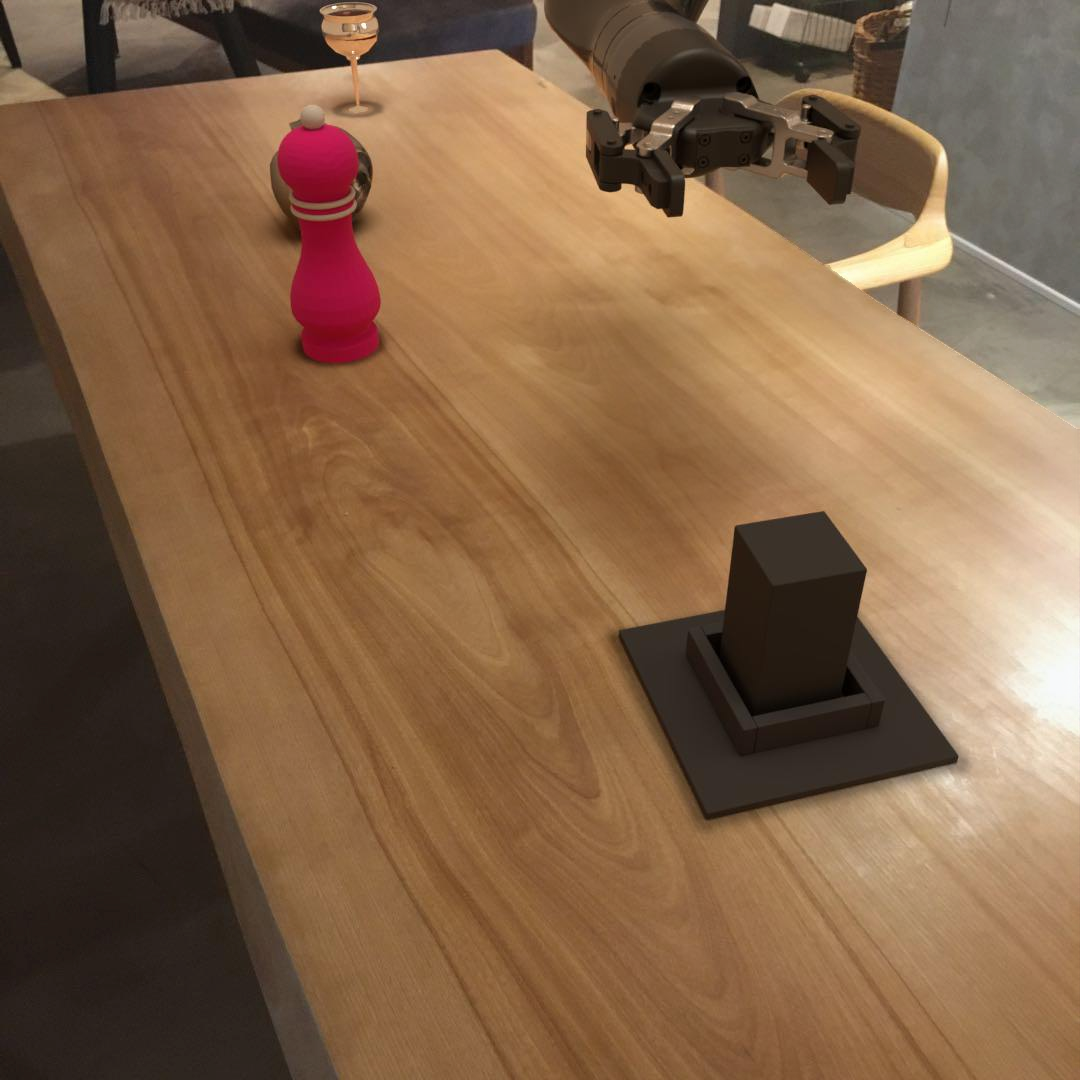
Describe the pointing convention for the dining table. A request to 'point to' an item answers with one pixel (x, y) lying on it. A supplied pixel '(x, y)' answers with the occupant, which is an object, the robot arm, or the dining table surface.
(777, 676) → the pad block
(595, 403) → the dining table surface
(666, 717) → the base pad
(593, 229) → the dining table surface
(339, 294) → the pepper mill
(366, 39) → the wineglass
